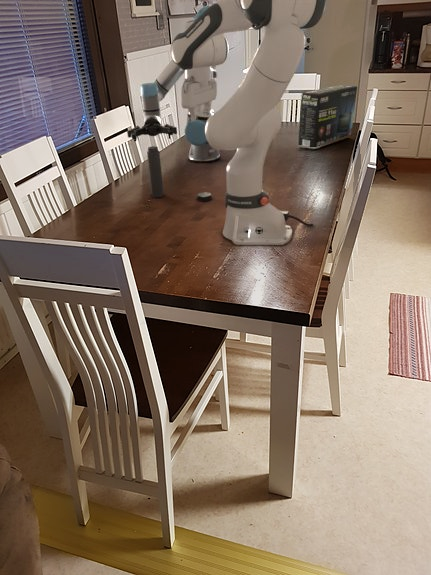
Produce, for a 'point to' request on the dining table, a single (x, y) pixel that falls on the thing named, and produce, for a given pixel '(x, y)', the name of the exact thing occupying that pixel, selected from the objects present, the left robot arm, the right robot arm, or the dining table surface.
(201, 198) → the lid
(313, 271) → the dining table surface
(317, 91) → the router box
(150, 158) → the dark grey cylinder
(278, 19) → the right robot arm
